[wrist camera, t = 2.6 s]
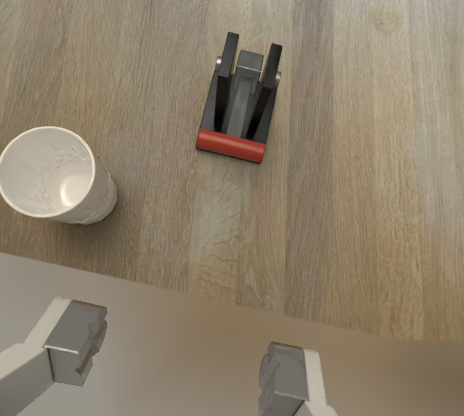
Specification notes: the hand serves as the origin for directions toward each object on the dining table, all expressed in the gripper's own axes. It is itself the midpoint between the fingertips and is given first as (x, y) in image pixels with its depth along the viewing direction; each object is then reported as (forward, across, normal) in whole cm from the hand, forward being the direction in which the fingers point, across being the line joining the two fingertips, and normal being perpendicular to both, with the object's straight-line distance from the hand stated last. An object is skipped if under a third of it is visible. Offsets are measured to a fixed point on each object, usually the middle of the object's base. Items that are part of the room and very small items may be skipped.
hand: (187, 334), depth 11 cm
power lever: (+22, 0, 0) cm, 22 cm away
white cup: (+24, +14, +14) cm, 31 cm away
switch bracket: (+33, 0, +4) cm, 33 cm away
